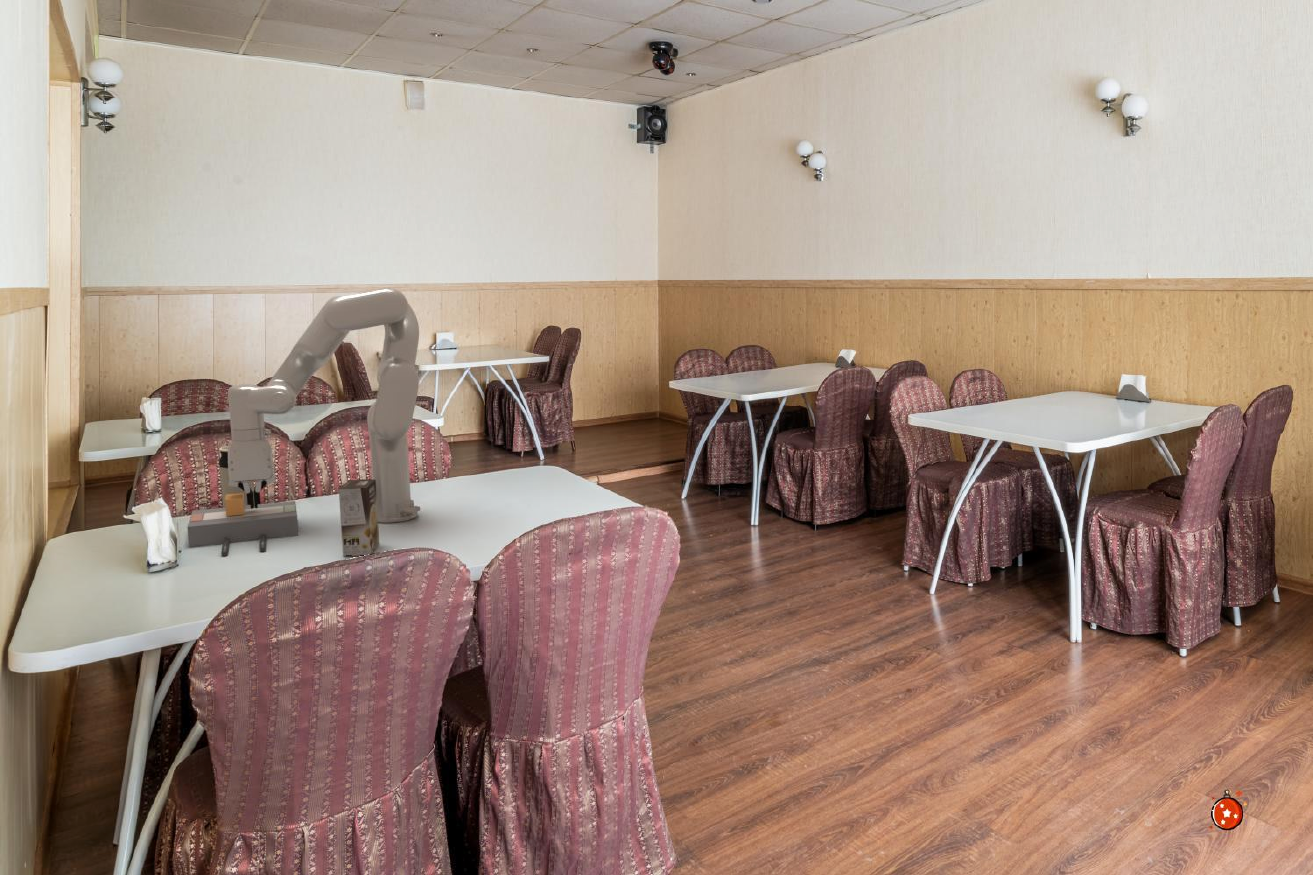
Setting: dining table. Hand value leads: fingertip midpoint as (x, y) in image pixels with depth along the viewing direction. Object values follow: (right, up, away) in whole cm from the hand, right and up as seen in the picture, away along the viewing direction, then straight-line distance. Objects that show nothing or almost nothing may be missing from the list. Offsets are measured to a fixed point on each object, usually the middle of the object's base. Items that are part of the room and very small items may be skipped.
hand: (254, 507), depth 219 cm
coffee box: (+32, -9, -15) cm, 36 cm away
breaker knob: (-4, -1, -1) cm, 4 cm away
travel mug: (-13, -3, +19) cm, 23 cm away
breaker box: (0, -7, -5) cm, 9 cm away
